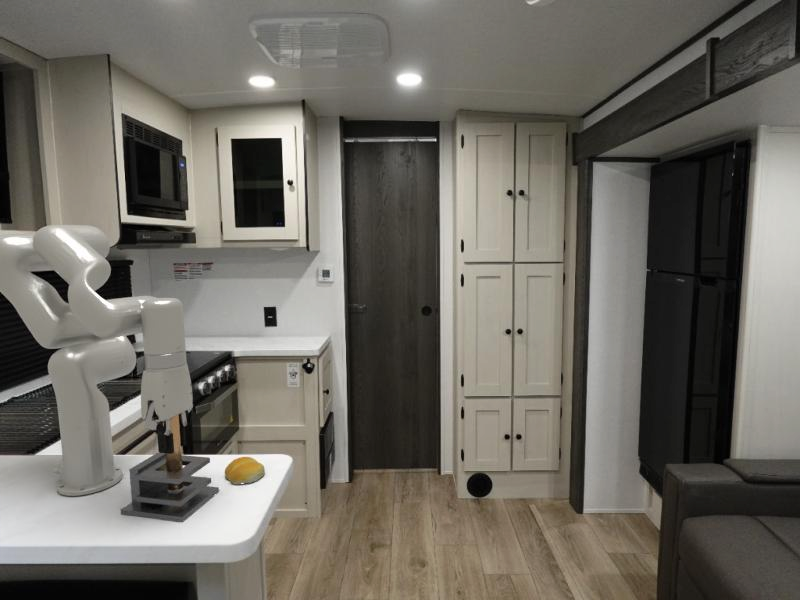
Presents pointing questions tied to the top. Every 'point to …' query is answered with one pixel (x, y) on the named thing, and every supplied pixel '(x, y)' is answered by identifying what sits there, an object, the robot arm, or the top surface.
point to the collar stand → (154, 493)
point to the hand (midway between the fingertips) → (172, 448)
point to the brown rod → (175, 458)
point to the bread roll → (244, 470)
